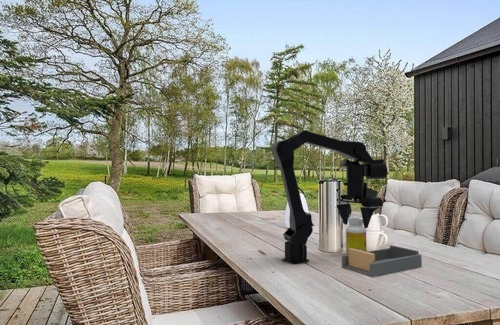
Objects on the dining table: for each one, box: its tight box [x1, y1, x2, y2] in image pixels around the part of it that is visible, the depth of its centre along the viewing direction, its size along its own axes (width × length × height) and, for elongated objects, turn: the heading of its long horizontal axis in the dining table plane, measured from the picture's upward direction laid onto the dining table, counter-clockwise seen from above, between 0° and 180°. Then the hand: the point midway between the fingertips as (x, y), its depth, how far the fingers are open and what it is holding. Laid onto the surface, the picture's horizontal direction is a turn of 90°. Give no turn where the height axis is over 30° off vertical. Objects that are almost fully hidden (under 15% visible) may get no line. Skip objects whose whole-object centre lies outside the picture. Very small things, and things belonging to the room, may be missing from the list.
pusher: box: [348, 248, 375, 272], centre depth 114 cm, size 1×9×5 cm, turn 30°
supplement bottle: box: [345, 217, 367, 255], centre depth 131 cm, size 7×7×13 cm
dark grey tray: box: [341, 244, 423, 278], centre depth 118 cm, size 21×12×5 cm, turn 120°
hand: (355, 226), depth 131 cm, fingers open, 9 cm apart
